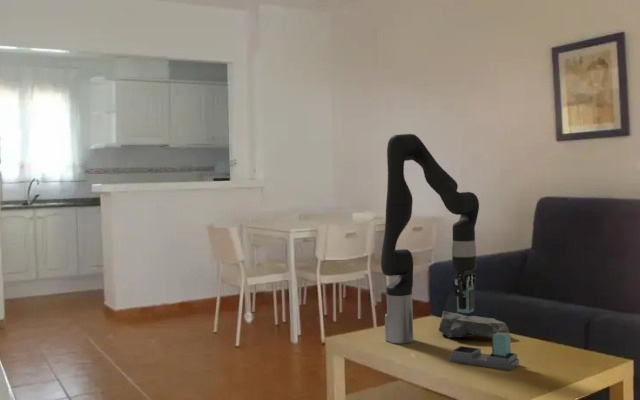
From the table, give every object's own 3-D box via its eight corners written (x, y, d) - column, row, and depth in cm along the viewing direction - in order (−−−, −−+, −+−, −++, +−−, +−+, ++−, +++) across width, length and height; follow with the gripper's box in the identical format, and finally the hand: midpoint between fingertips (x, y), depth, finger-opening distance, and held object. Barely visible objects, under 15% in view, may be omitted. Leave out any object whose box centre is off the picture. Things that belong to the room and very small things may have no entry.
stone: (438, 307, 264) (504, 307, 260) (439, 328, 264) (505, 328, 260) (437, 320, 241) (510, 320, 236) (438, 343, 241) (511, 344, 237)
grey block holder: (450, 361, 217) (449, 330, 217) (459, 356, 223) (458, 326, 222) (510, 370, 205) (510, 338, 205) (518, 364, 211) (518, 333, 210)
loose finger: (470, 313, 214) (469, 288, 214) (457, 311, 217) (456, 287, 216) (475, 311, 217) (474, 286, 217) (462, 309, 220) (461, 285, 219)
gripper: (466, 257, 208) (467, 312, 209) (483, 252, 220) (485, 304, 220) (443, 256, 213) (445, 310, 213) (462, 251, 224) (463, 302, 225)
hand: (465, 307), depth 217 cm, fingers closed on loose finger, 4 cm apart
